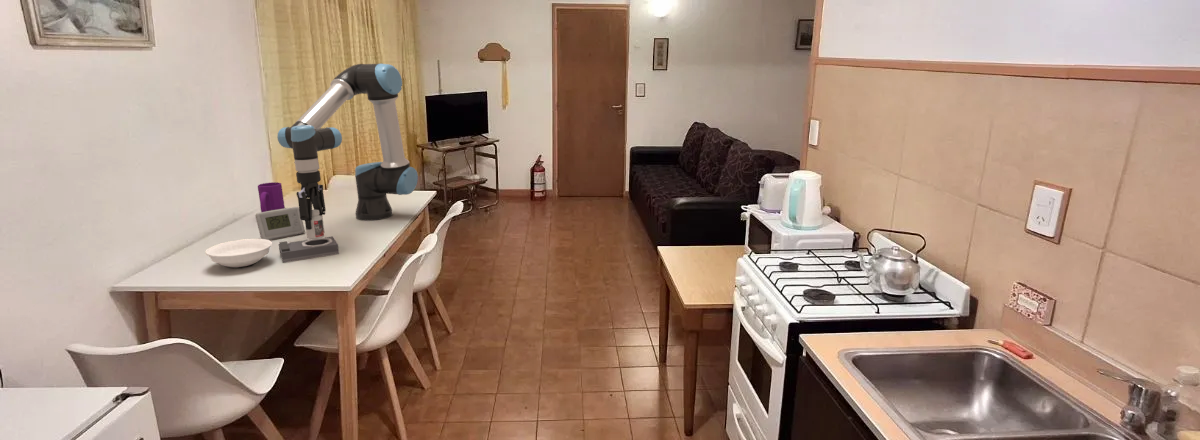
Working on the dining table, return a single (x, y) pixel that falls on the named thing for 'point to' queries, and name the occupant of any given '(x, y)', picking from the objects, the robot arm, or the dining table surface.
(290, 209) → the digital clock
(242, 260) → the bowl
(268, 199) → the mug
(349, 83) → the robot arm
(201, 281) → the dining table surface
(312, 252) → the octagonal hole plate
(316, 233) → the pill bottle
